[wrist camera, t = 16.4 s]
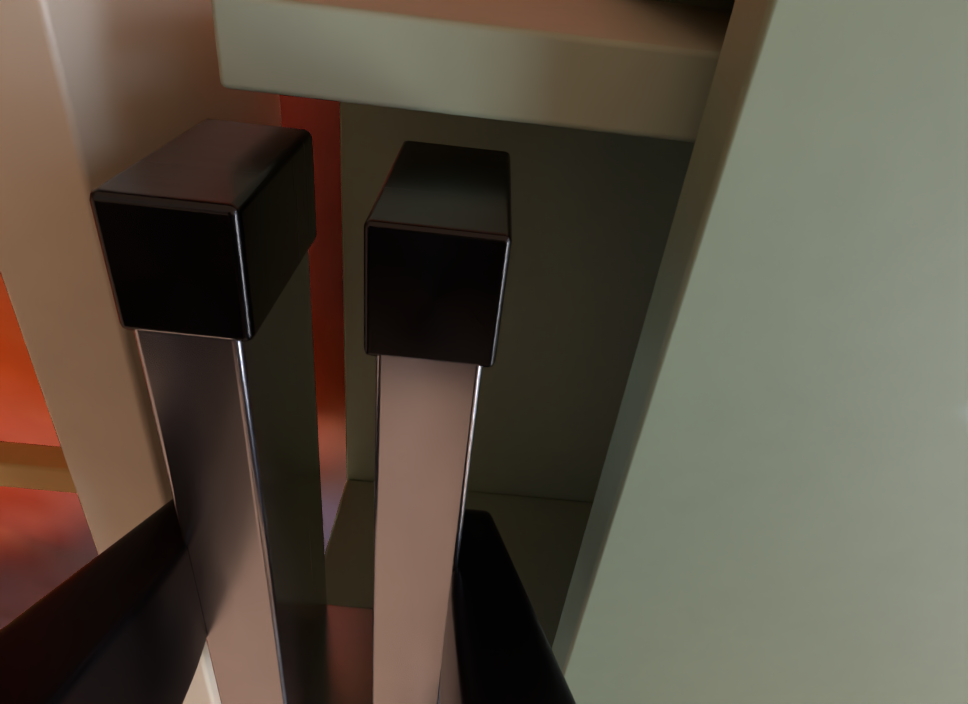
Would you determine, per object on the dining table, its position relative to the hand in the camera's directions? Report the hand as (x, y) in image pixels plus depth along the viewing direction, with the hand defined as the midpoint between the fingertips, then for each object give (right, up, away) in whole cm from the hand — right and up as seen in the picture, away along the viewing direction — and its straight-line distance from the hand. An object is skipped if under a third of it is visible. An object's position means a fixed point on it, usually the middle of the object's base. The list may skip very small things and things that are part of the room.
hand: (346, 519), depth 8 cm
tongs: (0, +1, +1) cm, 1 cm away
